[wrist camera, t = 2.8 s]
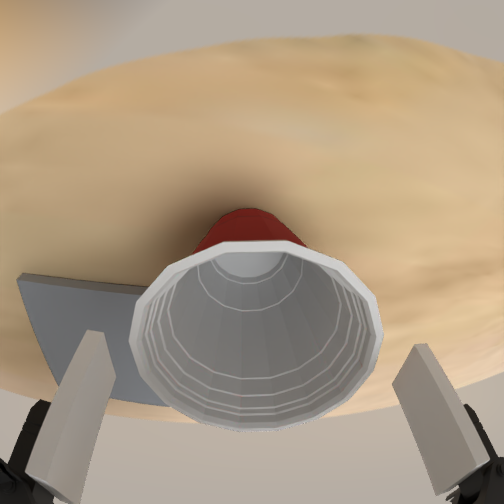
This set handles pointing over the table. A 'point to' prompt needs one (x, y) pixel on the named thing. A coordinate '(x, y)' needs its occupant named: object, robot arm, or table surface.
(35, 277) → the slate tile
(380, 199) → the table surface
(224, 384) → the plastic cup
